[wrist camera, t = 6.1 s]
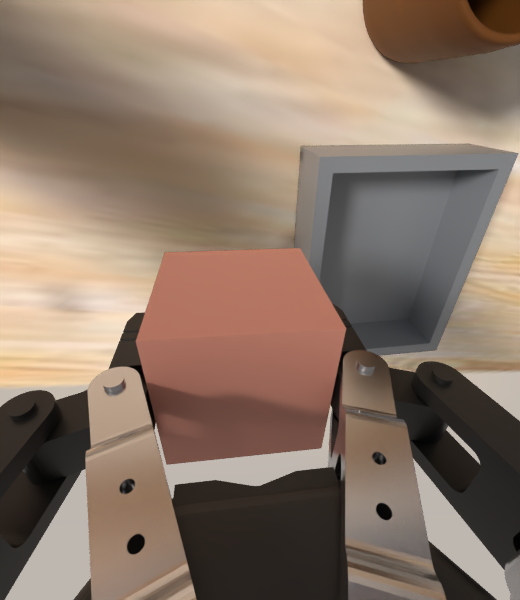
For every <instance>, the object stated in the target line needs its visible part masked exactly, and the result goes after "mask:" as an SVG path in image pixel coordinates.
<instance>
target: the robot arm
mask: <svg viewBox="0 0 520 600" xmlns="http://www.w3.org/2000/svg"><path fill="white" fill-rule="evenodd" d="M332 305H333V306H334V308H335V310H336V312H337V313H338V315H339V317H340V318H341V320H342V322H343V324H344V325H345V327H346V332H345V337H344V342H343V346H342V351H341V356H340V361H339V365H338V370H337V375H336V380H335V385H334V389H333V394H332V399H331V406H332V413H331V420H330V439H329V459H328V468H320V469H311V470H302V471H295V472H293V473H290V474H288V475H286V476H283V477H281V478H279V479H276V480H273V481H271V482H269V483H266V484H263V485H261V486H249V485H243V484H236V483H230V482H224V481H217V480H213V481H204V482H195V483H187V484H178V485H175V490H174V498H173V499H172V498H171V495H170V490H169V487H168V483H167V480H166V475H165V472H164V467H163V463H162V459H161V455H160V452H159V448H158V444H157V440H156V436H155V432H154V429H155V423H156V420H155V416H154V412H153V408H152V404H151V400H150V396H149V392H148V388H147V384H146V380H145V377H144V373H143V369H142V365H141V361H140V357H139V353H138V349H137V345H136V339H137V336H138V333H139V330H140V327H141V324H142V321H143V318H144V315H145V313H136V314H135V315H134V316H133V317H132V318H131V319H130V320H129V321H127V324H126V326H125V329H124V331H123V332H124V333H123V334H122V336H121V339H120V341H119V344H118V346H117V349H116V352H115V354H114V357H113V359H112V362H111V364H110V367H109V369H108V370H106V371H104V372H102V373H100V374H99V375H98V376H96V377H95V378H94V379H93V380H92V382H91V383H90V385H89V387H88V390H86V391H84V392H81V393H78V394H75V395H72V396H68V397H65V398H62V399H59V400H55V398H54V396H53V395H52V394H51V393H50V392H47V391H42V390H36V391H30V392H26V393H23V394H20V395H18V396H16V397H14V398H13V399H11V400H9V401H7V402H6V403H5V404H3V405H2V406H1V407H0V600H5V598H6V596H7V595H8V593H9V591H10V589H11V588H12V586H13V585H14V583H15V581H16V579H17V578H18V576H19V574H20V573H21V571H22V570H23V568H24V566H25V564H26V563H27V561H28V559H29V558H30V556H31V554H32V553H33V551H34V549H35V548H36V546H37V545H38V543H39V541H40V540H41V538H42V536H43V535H44V533H45V531H46V530H47V528H48V526H49V524H50V523H51V521H52V520H53V518H54V516H55V514H56V513H57V511H58V510H59V508H60V506H61V505H62V503H63V501H64V500H65V498H66V496H67V495H68V493H69V491H70V490H71V488H72V486H73V484H74V483H75V481H76V480H77V478H78V476H79V475H80V473H81V471H82V470H84V469H86V485H87V506H88V528H89V550H90V572H91V578H90V580H89V581H88V582H87V583H86V585H85V586H84V587H83V588H82V590H81V591H80V592H79V594H78V595H77V596H76V597H75V599H74V600H496V599H495V598H494V597H493V596H492V595H491V594H490V593H488V592H487V591H486V590H485V589H484V588H483V587H481V586H480V585H479V584H478V583H477V582H476V581H474V580H473V579H472V578H471V577H470V576H469V575H468V574H466V573H465V572H464V571H463V570H462V569H460V568H459V567H458V566H457V565H456V564H455V563H454V562H453V561H451V560H450V559H449V558H448V557H447V556H446V555H444V554H443V553H442V552H441V551H440V550H439V549H437V548H436V547H435V546H434V545H433V544H432V543H430V542H429V541H428V537H427V533H426V527H425V521H424V516H423V510H422V505H421V500H420V494H419V489H418V484H417V478H416V473H415V467H414V462H413V458H414V460H415V461H416V462H417V463H418V464H419V466H420V467H421V468H422V469H423V470H424V472H425V473H426V474H427V476H428V477H429V478H430V479H431V480H432V481H433V483H434V484H435V485H436V487H437V488H438V489H439V490H440V492H441V493H442V494H443V495H444V496H445V498H446V499H447V500H448V501H449V503H450V504H451V505H452V506H453V507H454V509H455V510H456V511H457V512H458V514H459V515H460V516H461V517H462V518H463V520H464V521H465V522H466V523H467V524H468V526H469V527H470V528H471V530H472V531H473V532H474V533H475V535H476V536H477V537H478V538H479V539H480V541H481V542H482V543H483V544H484V546H485V547H486V548H487V549H488V551H489V552H490V553H491V554H492V555H493V557H495V559H496V560H497V562H498V563H499V564H500V565H501V566H502V568H503V569H504V570H505V579H506V583H507V586H508V588H509V591H510V593H511V595H510V600H520V421H519V420H517V419H516V418H515V417H513V416H512V415H511V414H510V413H509V412H508V411H506V410H505V409H504V408H503V407H501V406H500V405H499V404H498V403H496V402H495V401H494V400H493V399H491V398H490V397H489V396H488V395H487V394H485V393H484V392H483V391H482V390H480V389H479V388H478V387H477V386H475V385H474V384H473V383H472V382H470V381H469V380H468V379H467V378H466V377H464V376H463V375H462V374H461V373H459V372H458V371H457V370H455V369H454V368H452V367H450V366H448V365H446V364H443V363H439V362H432V361H430V362H424V363H421V364H420V365H419V366H418V367H417V370H416V372H410V371H404V370H398V369H393V368H389V367H388V365H387V363H386V362H385V361H384V360H383V359H382V358H381V357H380V356H378V355H376V354H374V353H372V352H369V351H367V350H366V348H365V347H364V345H363V343H362V342H361V340H360V339H359V337H358V335H357V334H356V332H355V330H354V329H353V327H352V325H351V324H350V322H349V320H347V317H346V315H345V314H344V312H343V311H342V310H341V309H340V308H339V307H337V306H336V305H335V304H333V303H332ZM448 426H449V427H450V428H451V429H452V430H453V431H454V432H455V433H456V434H457V435H458V436H459V437H460V438H461V439H462V440H463V441H464V442H465V443H466V444H467V445H468V446H469V447H470V448H471V449H472V450H473V451H474V452H475V453H476V454H477V456H478V458H479V460H480V464H481V465H480V464H479V463H478V462H477V461H476V460H475V459H474V458H473V457H472V456H471V455H470V454H469V453H468V452H467V451H466V450H465V449H464V448H463V447H462V446H461V445H460V444H459V443H458V442H457V441H456V440H455V439H454V438H453V437H452V436H451V435H450V434H449V433H448V432H447V431H446V429H447V427H448Z"/></svg>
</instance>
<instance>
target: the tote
mask: <svg viewBox="0 0 520 600" xmlns="http://www.w3.org/2000/svg"><path fill="white" fill-rule="evenodd" d="M517 155H518V153H514V152H509V151H503V150H498V149H493V148H488V147H483V146H477V145H472V144H414V145H341V146H301V152H300V167H299V181H298V196H297V210H296V225H295V239H294V248H300V249H301V251H302V253H303V254H304V256H305V258H306V260H307V261H308V263H309V265H310V266H311V268H312V270H313V272H314V273H315V275H316V277H317V279H318V280H319V282H320V284H321V286H322V287H323V289H324V291H325V292H326V294H327V296H328V298H329V299H330V301H331V303H333V304H335V305H336V306H337V307H339V308H340V309H341V310H342V311H343V312H344V314H345V315H346V317H347V320H349V322H350V324H351V325H352V327H353V329H354V330H355V332H356V334H357V335H358V337H359V339H360V340H361V342H362V343H363V345H364V347H365V348H366V350H367V351H369V352H372V353H374V354H376V355H378V356H379V355H390V354H400V353H411V352H422V351H433V350H436V349H437V347H438V344H439V342H440V339H441V337H442V335H443V332H444V330H445V327H446V325H447V323H448V320H449V318H450V315H451V313H452V311H453V308H454V306H455V304H456V301H457V299H458V296H459V294H460V292H461V289H462V287H463V284H464V282H465V280H466V277H467V275H468V272H469V270H470V268H471V265H472V263H473V261H474V258H475V256H476V253H477V251H478V249H479V246H480V244H481V241H482V239H483V237H484V234H485V232H486V229H487V227H488V225H489V222H490V220H491V218H492V215H493V213H494V210H495V208H496V206H497V203H498V201H499V198H500V196H501V194H502V191H503V189H504V186H505V184H506V182H507V179H508V177H509V175H510V172H511V170H512V167H513V165H514V163H515V160H516V158H517Z"/></svg>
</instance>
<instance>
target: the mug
mask: <svg viewBox="0 0 520 600" xmlns="http://www.w3.org/2000/svg"><path fill="white" fill-rule="evenodd" d="M363 14H364V20H365V25H366V28H367V31H368V34H369V36H370V38H371V40H372V42H373V44H374V45H375V46H376V48H377V49H378V50H379V51H380V52H381V53H382V54H383V55H384V56H386V57H388V58H389V59H392V60H394V61H397V62H401V63H419V62H425V61H434V60H442V59H449V58H456V57H463V56H469V55H476V54H482V53H488V52H493V51H496V50H499V49H503V48H506V47H510V46H514V45H518V44H520V0H363Z"/></svg>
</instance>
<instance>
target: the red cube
mask: <svg viewBox="0 0 520 600" xmlns="http://www.w3.org/2000/svg"><path fill="white" fill-rule="evenodd" d="M345 332H346V327H345V325H344V324H343V322H342V320H341V318H340V317H339V315H338V313H337V312H336V310H335V308H334V306H333V305H332V303H331V301H330V299H329V298H328V296H327V294H326V292H325V291H324V289H323V287H322V286H321V284H320V282H319V280H318V279H317V277H316V275H315V273H314V272H313V270H312V268H311V266H310V265H309V263H308V261H307V260H306V258H305V256H304V254H303V253H302V251H301V249H300V248H288V249H257V250H225V251H193V252H165V253H164V256H163V260H162V263H161V266H160V269H159V272H158V275H157V278H156V281H155V284H154V287H153V290H152V293H151V296H150V299H149V302H148V305H147V308H146V312H145V315H144V318H143V321H142V324H141V327H140V330H139V333H138V336H137V339H136V345H137V349H138V353H139V357H140V361H141V365H142V369H143V373H144V377H145V380H146V384H147V388H148V392H149V396H150V400H151V404H152V408H153V412H154V416H155V420H156V424H157V428H158V432H159V436H160V440H161V444H162V448H163V452H164V456H165V460H166V464H177V463H186V462H195V461H205V460H215V459H224V458H234V457H242V456H252V455H262V454H271V453H281V452H290V451H299V450H309V449H318V448H321V447H322V442H323V437H324V432H325V427H326V423H327V418H328V413H329V408H330V404H331V399H332V394H333V389H334V385H335V380H336V375H337V370H338V365H339V361H340V356H341V351H342V346H343V342H344V337H345Z"/></svg>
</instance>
